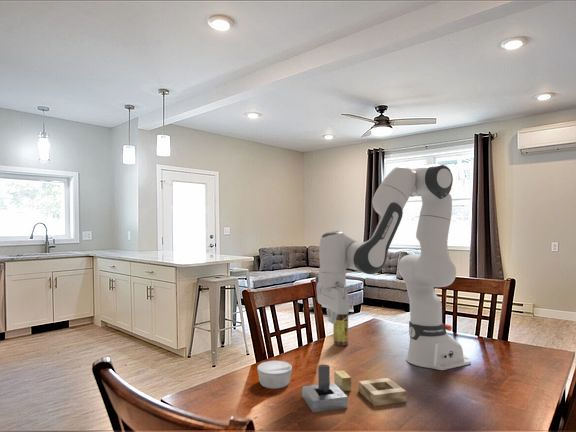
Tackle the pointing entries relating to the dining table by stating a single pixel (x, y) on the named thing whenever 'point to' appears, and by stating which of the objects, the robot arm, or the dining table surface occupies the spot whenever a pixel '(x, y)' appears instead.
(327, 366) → the dark grey rounded rod
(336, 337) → the sauce bottle
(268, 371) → the ramekin
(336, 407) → the socket plate
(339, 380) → the bar
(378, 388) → the block
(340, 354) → the dining table surface
